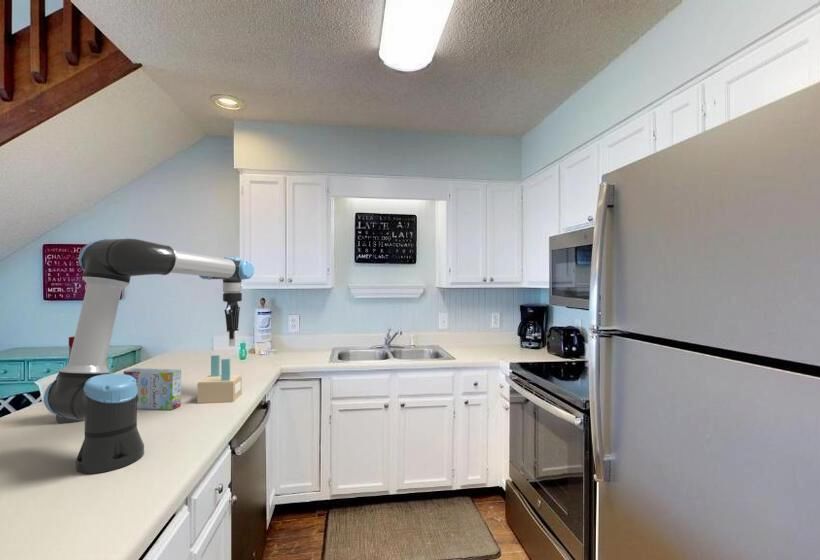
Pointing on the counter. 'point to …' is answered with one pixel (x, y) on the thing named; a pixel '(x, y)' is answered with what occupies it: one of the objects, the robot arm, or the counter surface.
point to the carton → (219, 392)
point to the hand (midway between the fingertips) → (232, 345)
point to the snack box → (157, 388)
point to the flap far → (217, 369)
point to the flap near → (224, 374)
